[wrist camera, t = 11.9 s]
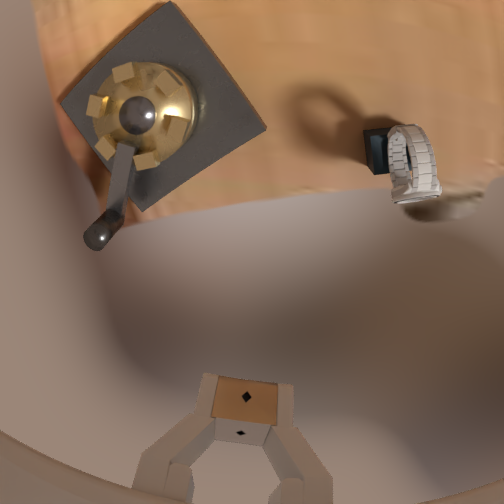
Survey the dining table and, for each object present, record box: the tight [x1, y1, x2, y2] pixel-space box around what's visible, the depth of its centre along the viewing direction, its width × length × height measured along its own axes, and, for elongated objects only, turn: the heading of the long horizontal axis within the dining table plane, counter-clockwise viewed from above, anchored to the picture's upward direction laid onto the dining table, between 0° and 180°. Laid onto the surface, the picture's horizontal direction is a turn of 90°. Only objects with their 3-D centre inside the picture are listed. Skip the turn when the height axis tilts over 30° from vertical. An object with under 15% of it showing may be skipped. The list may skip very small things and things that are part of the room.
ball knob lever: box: [83, 62, 198, 251], centre depth 29 cm, size 19×11×9 cm, turn 159°
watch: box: [363, 124, 442, 203], centre depth 28 cm, size 6×8×11 cm
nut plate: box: [60, 1, 267, 212], centre depth 32 cm, size 18×18×2 cm
